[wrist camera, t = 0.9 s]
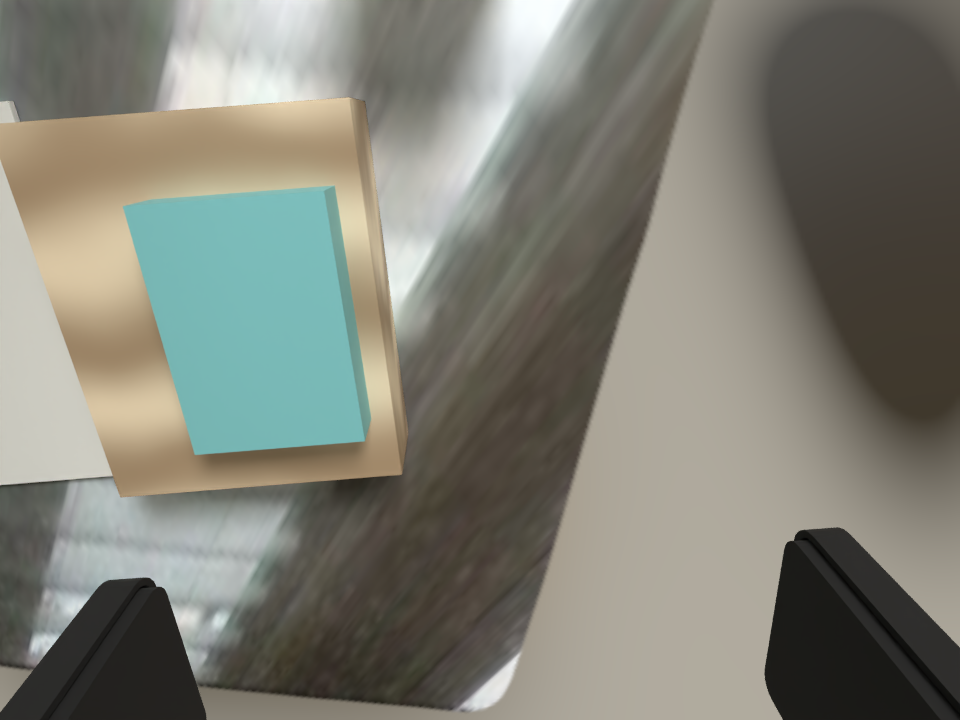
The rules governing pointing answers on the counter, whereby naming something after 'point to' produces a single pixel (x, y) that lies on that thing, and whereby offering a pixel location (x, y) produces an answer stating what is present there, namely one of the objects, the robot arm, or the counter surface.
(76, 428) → the mat
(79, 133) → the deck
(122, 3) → the counter surface
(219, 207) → the teal sticky note pad
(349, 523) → the counter surface
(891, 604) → the robot arm
